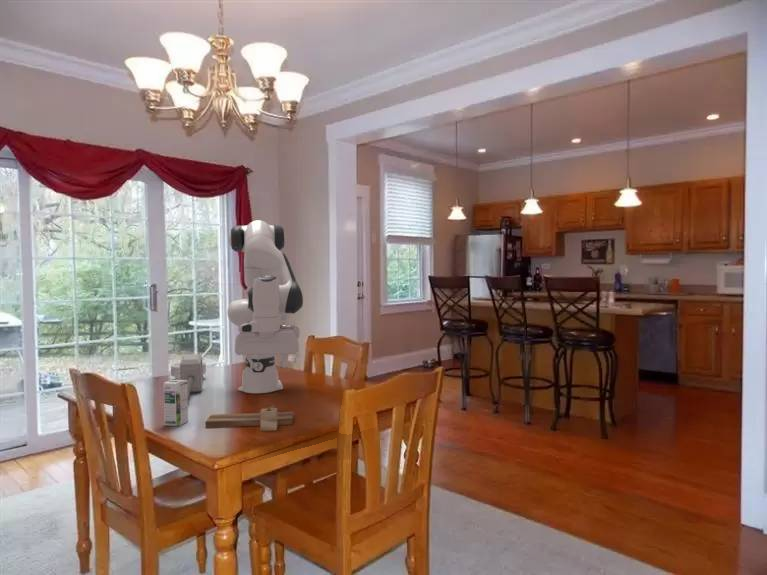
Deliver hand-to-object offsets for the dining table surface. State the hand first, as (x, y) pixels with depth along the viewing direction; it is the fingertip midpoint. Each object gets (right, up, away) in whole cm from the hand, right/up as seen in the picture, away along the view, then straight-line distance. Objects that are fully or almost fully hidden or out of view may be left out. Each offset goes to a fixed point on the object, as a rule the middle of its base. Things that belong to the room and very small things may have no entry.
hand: (267, 367), depth 169 cm
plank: (-7, -20, +7) cm, 22 cm away
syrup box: (-32, -20, +7) cm, 39 cm away
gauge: (0, -20, +5) cm, 20 cm away
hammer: (-41, -19, +40) cm, 60 cm away
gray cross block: (-53, -17, +72) cm, 91 cm away
